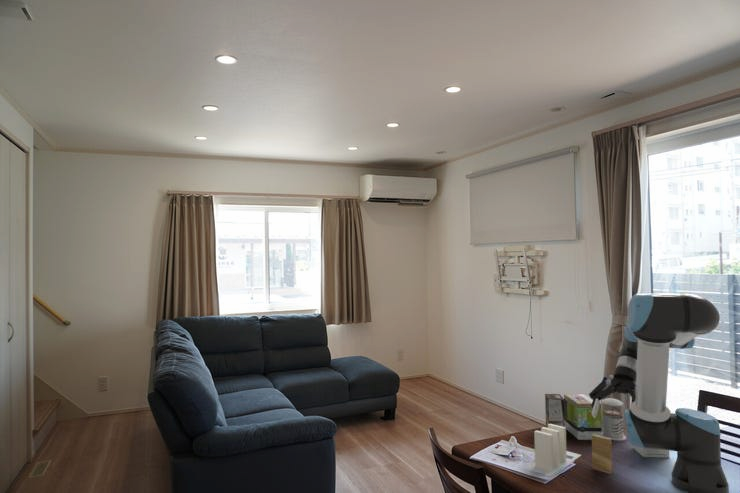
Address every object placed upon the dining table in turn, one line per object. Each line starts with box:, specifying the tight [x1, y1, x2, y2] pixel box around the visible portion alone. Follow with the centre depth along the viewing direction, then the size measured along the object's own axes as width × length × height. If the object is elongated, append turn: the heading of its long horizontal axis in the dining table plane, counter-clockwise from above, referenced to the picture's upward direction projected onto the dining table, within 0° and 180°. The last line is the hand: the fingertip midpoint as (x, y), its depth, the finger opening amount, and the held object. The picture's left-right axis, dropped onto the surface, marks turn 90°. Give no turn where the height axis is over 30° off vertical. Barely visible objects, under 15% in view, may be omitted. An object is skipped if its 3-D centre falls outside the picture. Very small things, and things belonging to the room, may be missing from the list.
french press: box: [600, 374, 627, 441], centre depth 199 cm, size 10×12×25 cm
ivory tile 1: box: [548, 424, 567, 463], centre depth 175 cm, size 2×6×12 cm, turn 43°
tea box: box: [563, 393, 603, 441], centre depth 202 cm, size 15×10×15 cm
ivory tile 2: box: [540, 426, 560, 467], centre depth 171 cm, size 2×6×12 cm, turn 43°
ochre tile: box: [591, 434, 613, 475], centre depth 165 cm, size 2×6×12 cm, turn 43°
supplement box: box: [632, 445, 670, 459], centre depth 181 cm, size 10×9×17 cm
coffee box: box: [544, 393, 565, 428], centre depth 200 cm, size 9×6×16 cm
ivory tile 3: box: [534, 429, 554, 471], centre depth 168 cm, size 2×6×12 cm, turn 43°
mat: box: [524, 450, 582, 477], centre depth 173 cm, size 25×9×1 cm, turn 133°
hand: (612, 420), depth 173 cm, fingers open, 13 cm apart
